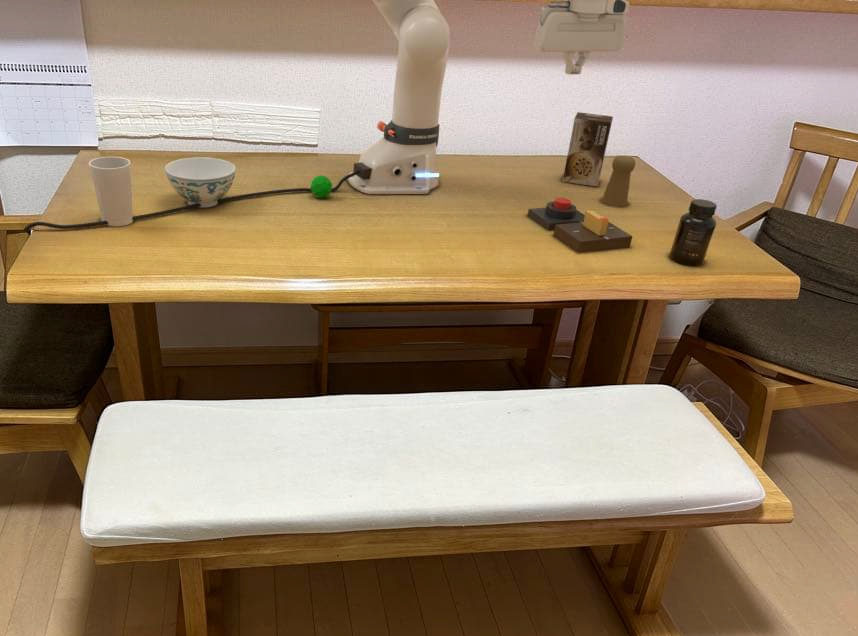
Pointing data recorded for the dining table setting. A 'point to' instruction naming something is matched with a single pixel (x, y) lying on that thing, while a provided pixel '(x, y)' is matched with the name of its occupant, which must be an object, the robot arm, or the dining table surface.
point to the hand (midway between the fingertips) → (572, 73)
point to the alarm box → (555, 216)
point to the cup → (113, 189)
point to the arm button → (562, 203)
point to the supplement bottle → (694, 233)
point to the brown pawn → (619, 182)
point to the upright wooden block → (595, 223)
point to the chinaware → (201, 179)
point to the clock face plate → (591, 237)
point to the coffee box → (587, 148)
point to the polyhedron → (321, 186)
